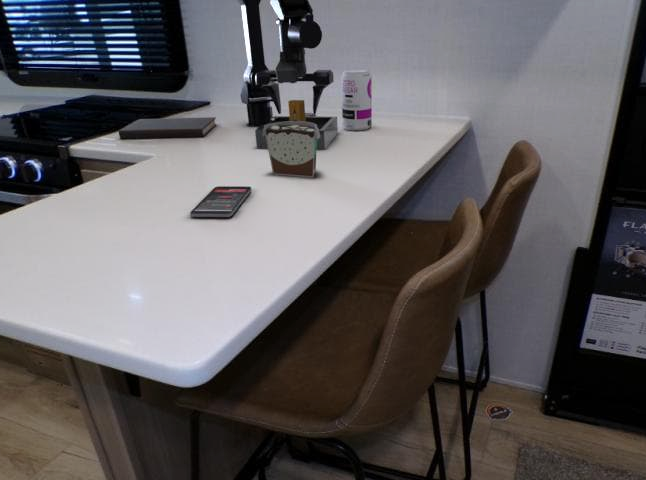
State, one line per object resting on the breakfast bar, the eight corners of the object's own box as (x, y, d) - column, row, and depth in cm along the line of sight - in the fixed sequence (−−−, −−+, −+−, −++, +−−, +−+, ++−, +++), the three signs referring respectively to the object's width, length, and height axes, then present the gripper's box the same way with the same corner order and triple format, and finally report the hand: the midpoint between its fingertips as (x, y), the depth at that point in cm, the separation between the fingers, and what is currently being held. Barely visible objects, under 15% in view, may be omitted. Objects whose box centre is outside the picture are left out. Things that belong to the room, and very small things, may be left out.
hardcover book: (140, 127, 157) (138, 119, 156) (216, 125, 157) (215, 117, 156) (120, 139, 143) (117, 130, 142) (203, 137, 143) (202, 128, 142)
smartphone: (252, 186, 101) (230, 214, 88) (252, 190, 102) (231, 218, 89) (215, 186, 102) (188, 213, 89) (216, 189, 102) (189, 217, 89)
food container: (330, 170, 113) (328, 122, 108) (320, 178, 108) (317, 128, 103) (279, 166, 117) (275, 119, 112) (266, 173, 112) (261, 125, 107)
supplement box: (307, 139, 138) (305, 99, 133) (301, 142, 135) (298, 101, 130) (297, 138, 139) (294, 98, 134) (290, 141, 136) (287, 101, 131)
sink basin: (257, 148, 131) (254, 129, 129) (276, 132, 146) (274, 116, 144) (324, 149, 128) (324, 130, 126) (337, 133, 143) (337, 116, 141)
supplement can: (372, 124, 152) (372, 68, 145) (370, 131, 145) (370, 72, 137) (344, 124, 153) (343, 69, 145) (341, 131, 146) (339, 72, 138)
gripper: (244, 49, 121) (252, 119, 128) (323, 48, 118) (326, 120, 126) (259, 45, 130) (265, 111, 138) (332, 44, 127) (335, 111, 135)
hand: (297, 113), depth 134 cm, fingers open, 9 cm apart
